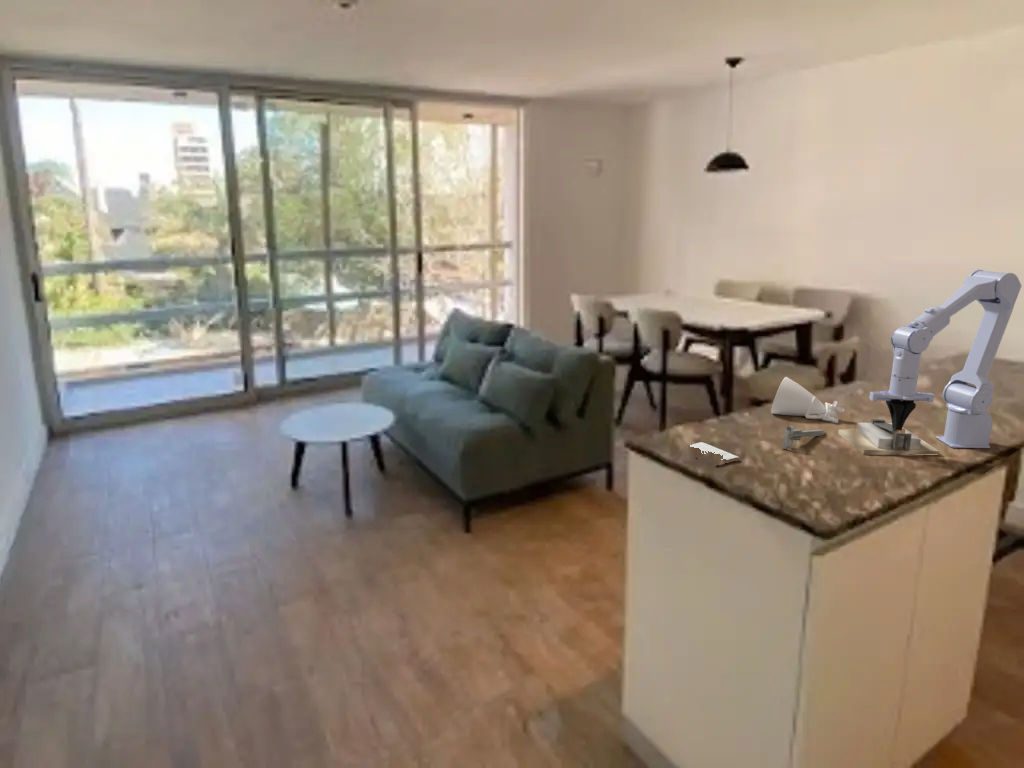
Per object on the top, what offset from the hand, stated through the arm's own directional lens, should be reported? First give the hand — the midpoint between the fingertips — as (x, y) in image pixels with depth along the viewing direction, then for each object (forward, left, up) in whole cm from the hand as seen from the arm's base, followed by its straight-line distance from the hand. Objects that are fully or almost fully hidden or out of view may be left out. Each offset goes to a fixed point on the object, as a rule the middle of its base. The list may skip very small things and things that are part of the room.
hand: (896, 428), depth 173 cm
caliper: (+20, -6, -6) cm, 22 cm away
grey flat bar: (0, -4, -1) cm, 4 cm away
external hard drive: (+47, +6, -6) cm, 48 cm away
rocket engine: (+13, -27, -6) cm, 30 cm away
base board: (0, -5, -6) cm, 7 cm away
